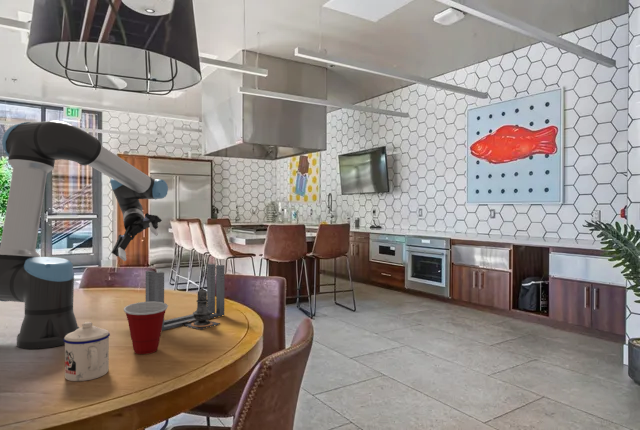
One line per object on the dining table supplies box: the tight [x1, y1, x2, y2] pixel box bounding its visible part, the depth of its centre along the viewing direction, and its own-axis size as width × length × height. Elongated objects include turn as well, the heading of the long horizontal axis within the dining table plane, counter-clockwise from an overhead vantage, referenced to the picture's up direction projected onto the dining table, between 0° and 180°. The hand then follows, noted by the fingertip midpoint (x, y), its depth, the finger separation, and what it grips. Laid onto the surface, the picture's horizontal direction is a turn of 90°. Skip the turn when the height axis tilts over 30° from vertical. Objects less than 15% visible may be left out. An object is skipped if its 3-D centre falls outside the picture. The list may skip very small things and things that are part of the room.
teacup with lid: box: [64, 321, 111, 382], centre depth 93 cm, size 12×9×12 cm
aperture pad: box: [183, 319, 221, 330], centre depth 136 cm, size 8×8×1 cm
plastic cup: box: [123, 301, 169, 355], centre depth 110 cm, size 11×11×12 cm
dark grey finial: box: [192, 286, 211, 326], centre depth 136 cm, size 6×6×12 cm
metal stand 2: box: [155, 264, 226, 332], centre depth 140 cm, size 2×26×18 cm, turn 143°
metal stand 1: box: [145, 263, 216, 325], centre depth 143 cm, size 2×26×18 cm, turn 143°
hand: (138, 245), depth 144 cm, fingers open, 13 cm apart
